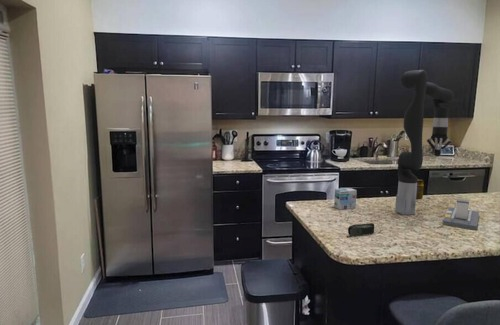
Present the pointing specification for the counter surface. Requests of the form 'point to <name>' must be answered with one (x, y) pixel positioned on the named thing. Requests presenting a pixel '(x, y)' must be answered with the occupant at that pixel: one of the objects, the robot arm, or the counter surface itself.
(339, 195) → the light bulb box
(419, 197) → the condiment
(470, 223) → the switch board
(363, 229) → the mobile phone
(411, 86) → the robot arm
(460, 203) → the slider tab
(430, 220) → the counter surface
